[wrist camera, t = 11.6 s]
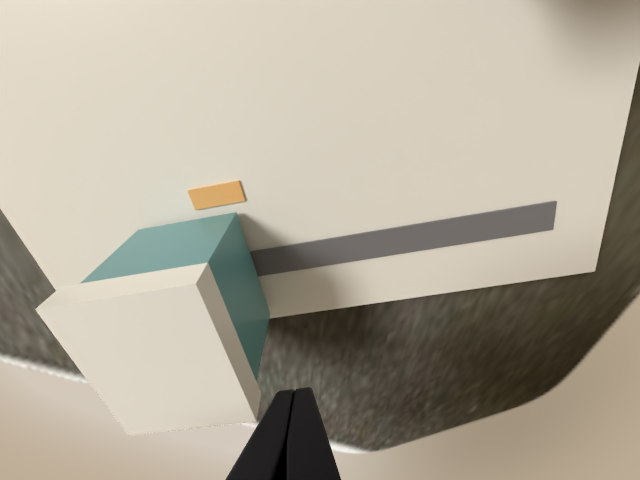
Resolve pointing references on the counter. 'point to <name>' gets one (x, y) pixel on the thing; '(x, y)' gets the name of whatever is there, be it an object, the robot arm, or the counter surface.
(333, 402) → the counter surface
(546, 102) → the slotted slider plate
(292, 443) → the robot arm
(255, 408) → the teal knob
